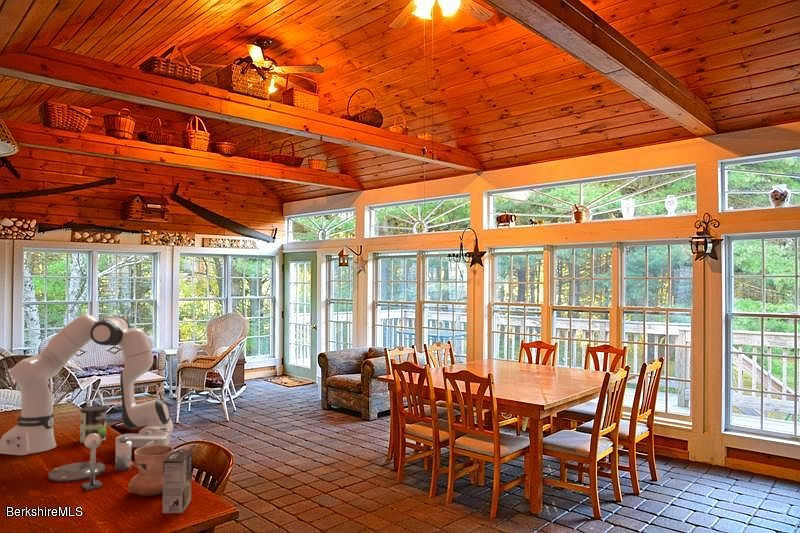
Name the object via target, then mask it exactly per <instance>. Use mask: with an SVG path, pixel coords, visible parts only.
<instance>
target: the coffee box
mask: <svg viewBox="0 0 800 533" xmlns="http://www.w3.org/2000/svg"><path fill="white" fill-rule="evenodd" d="M190 502H192V451H189V452H187V451H173V452H172V453H171V454H170V455H169V456H168V457H167V458H166V459H165V460H164V461H163V493H162V510H161V511H162V514H182V513H184V512H185V510H186V509H187V507H188V505H190Z"/></svg>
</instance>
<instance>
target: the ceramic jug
mask: <svg viewBox="0 0 800 533" xmlns="http://www.w3.org/2000/svg"><path fill="white" fill-rule="evenodd" d="M174 450H175V449H174V447H173V446H172V445H149V446H144V447H137V448H136V449H135V450H134V451H133V454H134V457H133V458H134V461H133V460H131V462H128V463H127V464H126V465H127V467H130V466H131V467H135V468H137V470H138V471H139V472H138V473H137V474H136V475H134V476H133V477H132V478H131V479H130V481H129V483H128V485H127V489H128V490H129V491H130V492H131V493H132V494H135V495H137V496H141V497H152V496H153V497H154V496H158V495H161V494H162V495H163V461H164V460H165V459H166V458H167V457H168V456H169V455H170V454H171V453H172V452H174Z"/></svg>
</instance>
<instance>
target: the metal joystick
mask: <svg viewBox="0 0 800 533" xmlns="http://www.w3.org/2000/svg"><path fill="white" fill-rule="evenodd" d="M83 444H84V447H86V448H87V449H89V450H90V452H89V454H90V457H89V462H90V478H89V481H87V482H83V483H82V484H81V487H82V488H83V489H85V491H91V490H95V489H99V488H103V483H102V482H101V481H100V480H99V479H98V480H97V479H96V476H95V465H96V462H97V460H96V458H97V457H96V456H97V454H96V453H97V449H98V448H99V447H100V446H101V444H102V439H101V437H100V436H99V435H98V434H96V433H92V434H89V435H88V436H87V437H86V438H85V440H84V443H83Z"/></svg>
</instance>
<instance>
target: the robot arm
mask: <svg viewBox="0 0 800 533" xmlns="http://www.w3.org/2000/svg"><path fill="white" fill-rule="evenodd" d="M91 341H93V342H94V343H95V344H97V345H101V346H114V347H115V346H119V347H120V348H121V351H122V354H123V358H124V367H123V369H122V370H121V372H120V376H119V377H120V378H119V379H120V380H119V382H120V383H119V384H120V395H121V405H122V407H121V408H122V411H121V412H122V413H121V421H122V424H123V425H124V426H125V427H126V428H128V429H130V430H135V429H139V428H140V427H143V426H144V427H143V428H141V429H140V430H139V431H138V433H124V434H121V435H118V436H117V437H115V439H114V440H115V441H114V443H115V444H114V445H115V446H116V442H117V441H119V439H120V437H128V440H132V448H141V447H144V446H149V445H168V446H170V444H171V434H172V432H173V430H174V424H173V421H172V419H171V412H170V408H169V405H168V404H167V403H166V402H165V401H164V400H163V399H161V398H155V399H152V400H148V401H145V402H142V403H136V399H135V398H136V397H135V386H134V385H135V383H136V381H137V379H138V378H140V377H142V376H143V375H144V374H145V373H147V372H148V371H149V370H151V368H152V366H153V364H154V354H153V350H152V347H151V343H150V341H149V338H148V336H147V334H146V332H145V331H144V329H142V328H139V327H132V328H131V325H130V322H129V321H128V320H127V319H126V318H125V317H121V316H111V317H107V318H103V319H100V320H99V319H97V318H96V317H95V316H93V315H91V314H85V313H84V314H82V315H79V316H78V317H76V318H75V319H73V320H72V321H70V322H69V323H68V324H67V325H65V326H64V327H63V328H62V329H61V330H60V331H59V332H57V334H55V335H54V336H53V337H52V338H51V339H49V341H48V344H47V345H46V346H45V347H44V349H43V350H41V352H39V353H38V354H36V355H33V356H29V357H26V358H24V359H22V360H20V361H19V362H17V363H16V364H15V365H14V367H13V368H12V372H11V376H12V379H13V380H14V381H15V382H16V383H17V385H18V388H19V391H20V398H21V416H18V417H16V418H15V419H14V422H17V423H16V425H14V427H12V428H11V429H9V430H8V431H7V432H6V433H4V434H3V435H2V436H1V438H0V454H3V455H11V456H13V455H14V456H26V455H29V454H37V453H42V452H46V451H49V450H52V449H54V448H56V447H57V443H56V439H55V434H54V424H55V423H54V422H55V413H54V411H53V410H54V408H53V407H54V394H53V393H52V391H51V390H50V387H49V383H48V380H49V379H52V378H54V377H55V376H57V375H58V374H60V372H61V371H62V369H63V368H64V367H65V366H66V364H67V363H68V362H69V360H70V359H71V358H72V357H73V356H75V355H76V354H77V353H78V352H79V351H80V350H81V349H82V348H84V347H85V346H86V345H87V344H88V343H89V342H91Z"/></svg>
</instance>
